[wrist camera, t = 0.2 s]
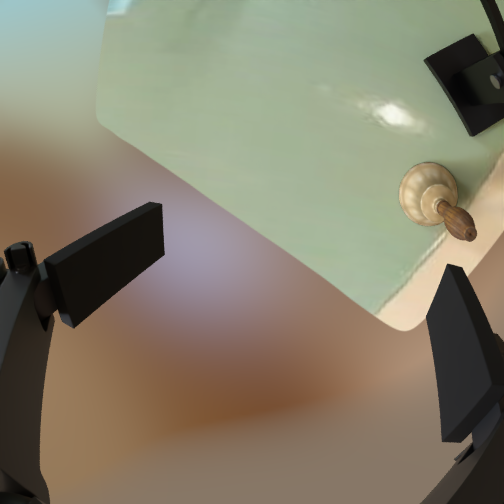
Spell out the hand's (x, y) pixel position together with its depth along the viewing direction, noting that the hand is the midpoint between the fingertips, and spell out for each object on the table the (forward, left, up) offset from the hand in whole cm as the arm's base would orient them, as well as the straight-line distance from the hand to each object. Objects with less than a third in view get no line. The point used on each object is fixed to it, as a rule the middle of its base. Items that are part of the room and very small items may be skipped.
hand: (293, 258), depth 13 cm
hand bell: (+1, +13, -28) cm, 30 cm away
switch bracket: (-15, +17, -27) cm, 36 cm away
